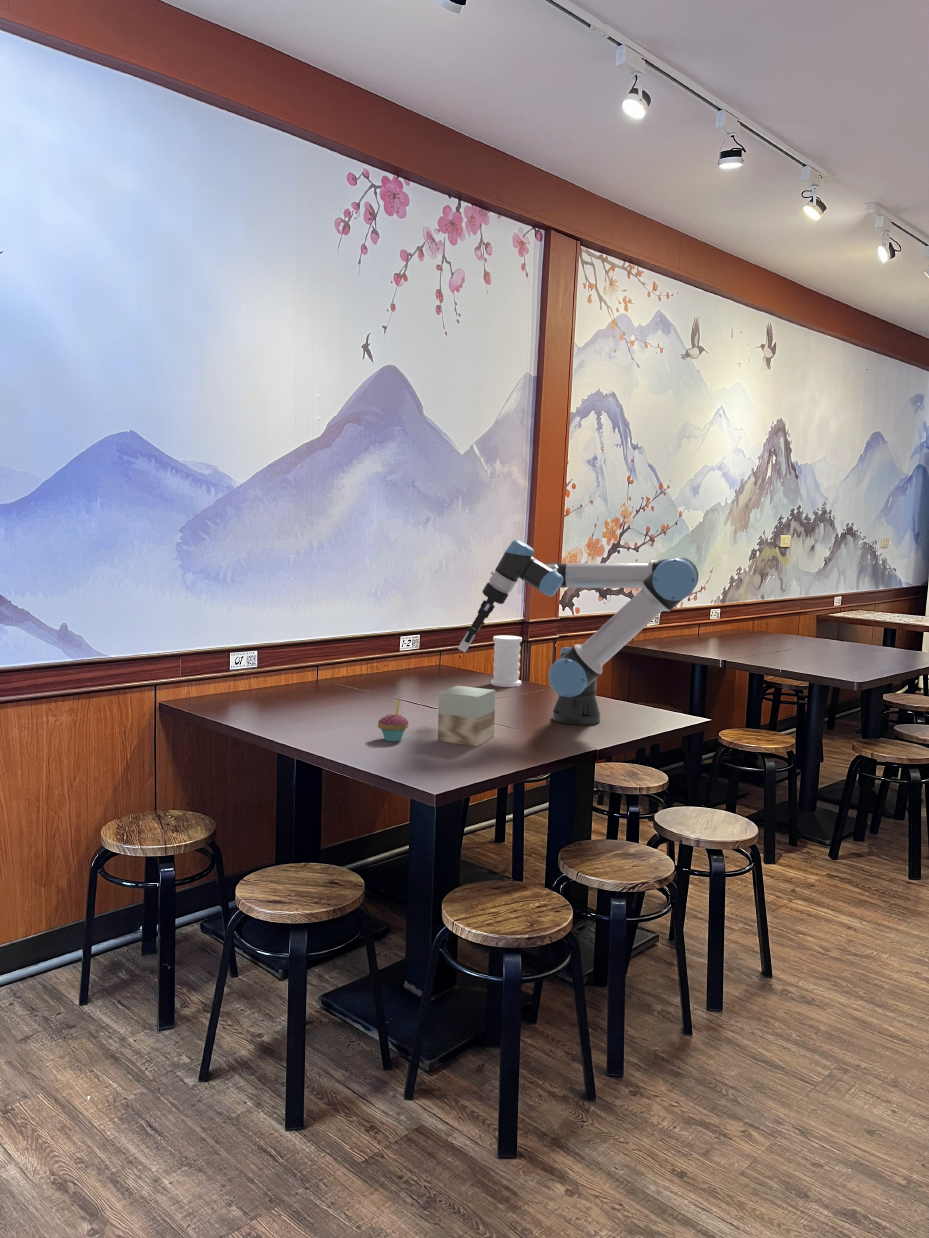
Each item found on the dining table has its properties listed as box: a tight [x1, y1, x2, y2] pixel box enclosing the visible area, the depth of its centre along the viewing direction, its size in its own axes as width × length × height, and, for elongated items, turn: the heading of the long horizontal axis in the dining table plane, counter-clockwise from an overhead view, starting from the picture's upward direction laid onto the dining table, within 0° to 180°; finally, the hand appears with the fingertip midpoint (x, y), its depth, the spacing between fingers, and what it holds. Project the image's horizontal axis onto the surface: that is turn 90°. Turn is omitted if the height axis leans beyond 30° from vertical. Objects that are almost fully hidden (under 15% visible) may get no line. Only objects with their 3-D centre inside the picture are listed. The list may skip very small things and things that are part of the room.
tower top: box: [438, 685, 496, 718], centre depth 261 cm, size 12×12×6 cm
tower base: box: [437, 710, 496, 747], centre depth 262 cm, size 12×12×8 cm
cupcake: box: [377, 697, 409, 742], centre depth 258 cm, size 9×8×12 cm
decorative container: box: [490, 634, 523, 688], centre depth 349 cm, size 12×12×18 cm
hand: (464, 645), depth 285 cm, fingers open, 13 cm apart
